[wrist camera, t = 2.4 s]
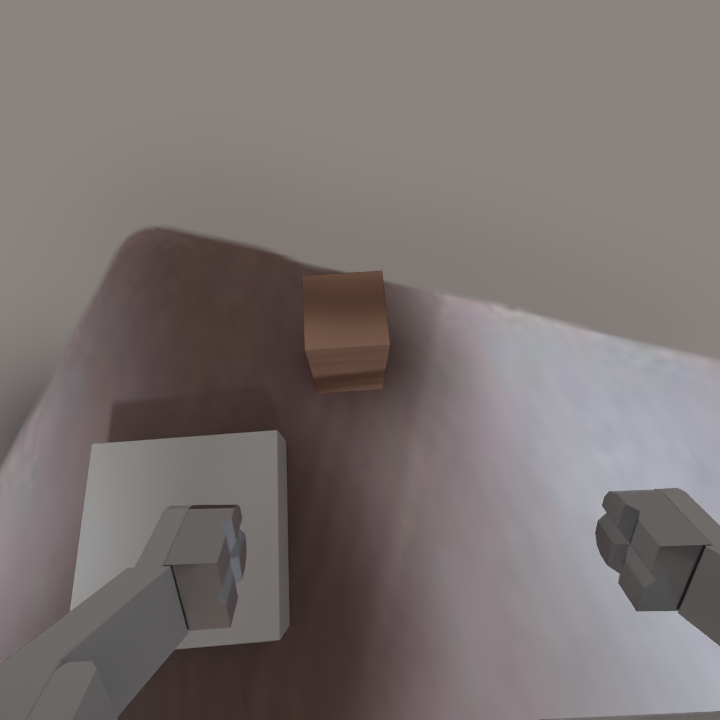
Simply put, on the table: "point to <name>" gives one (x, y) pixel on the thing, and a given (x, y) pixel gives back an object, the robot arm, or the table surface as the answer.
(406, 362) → the table surface
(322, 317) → the terracotta block
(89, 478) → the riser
